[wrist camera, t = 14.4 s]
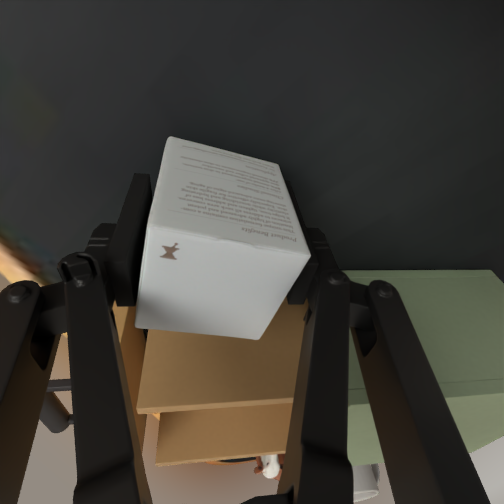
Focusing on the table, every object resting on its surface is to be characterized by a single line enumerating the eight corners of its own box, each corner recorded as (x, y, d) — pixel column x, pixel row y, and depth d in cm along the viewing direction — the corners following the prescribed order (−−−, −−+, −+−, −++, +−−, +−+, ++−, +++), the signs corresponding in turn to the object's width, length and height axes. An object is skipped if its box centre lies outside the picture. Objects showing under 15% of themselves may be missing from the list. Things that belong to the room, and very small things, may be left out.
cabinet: (276, 360, 35) (296, 472, 28) (305, 270, 26) (350, 405, 18) (416, 352, 38) (470, 453, 30) (490, 269, 28) (600, 385, 21)
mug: (299, 427, 52) (314, 502, 45) (353, 412, 50) (378, 487, 43) (318, 441, 59) (334, 508, 52) (366, 428, 57) (390, 496, 50)
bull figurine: (273, 403, 44) (284, 471, 38) (287, 431, 53) (297, 490, 47) (244, 409, 44) (250, 478, 38) (262, 436, 54) (270, 495, 48)
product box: (152, 226, 19) (129, 330, 13) (167, 130, 15) (143, 223, 10) (247, 244, 21) (260, 343, 15) (282, 163, 17) (315, 256, 11)
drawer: (80, 376, 31) (47, 484, 25) (30, 286, 22) (-42, 420, 16) (294, 364, 35) (315, 456, 28) (328, 283, 26) (370, 391, 19)
